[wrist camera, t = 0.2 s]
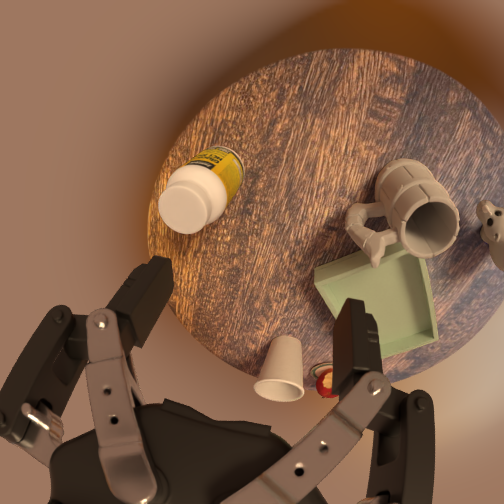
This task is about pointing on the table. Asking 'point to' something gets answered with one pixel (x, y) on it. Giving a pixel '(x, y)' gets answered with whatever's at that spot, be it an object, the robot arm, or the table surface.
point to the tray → (384, 295)
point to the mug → (405, 213)
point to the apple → (323, 379)
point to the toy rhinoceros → (492, 230)
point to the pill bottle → (201, 189)
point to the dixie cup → (282, 371)
